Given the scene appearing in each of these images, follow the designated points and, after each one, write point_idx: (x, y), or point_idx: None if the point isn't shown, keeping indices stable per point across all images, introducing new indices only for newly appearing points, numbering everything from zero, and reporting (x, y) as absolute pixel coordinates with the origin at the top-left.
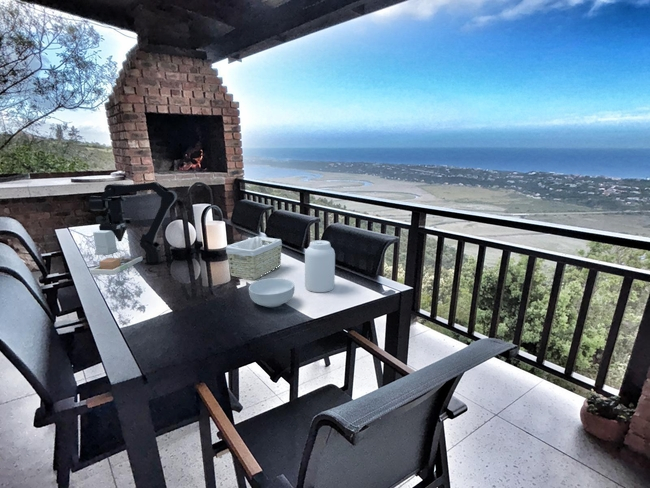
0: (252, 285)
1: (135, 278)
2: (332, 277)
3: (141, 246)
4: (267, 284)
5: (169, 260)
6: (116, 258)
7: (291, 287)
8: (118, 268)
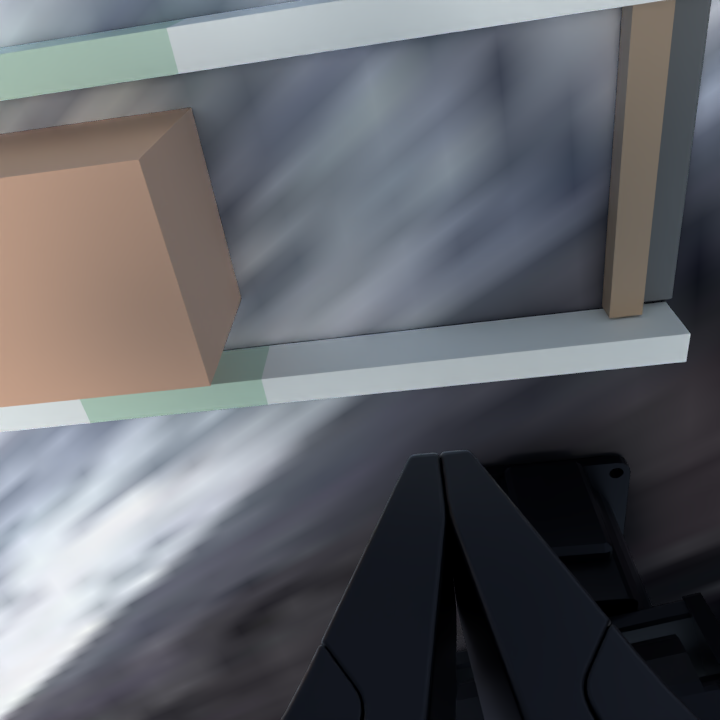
0: None
1: (25, 623)
2: None
3: (459, 713)
4: None
5: None
6: (175, 340)
7: None
8: (70, 420)
